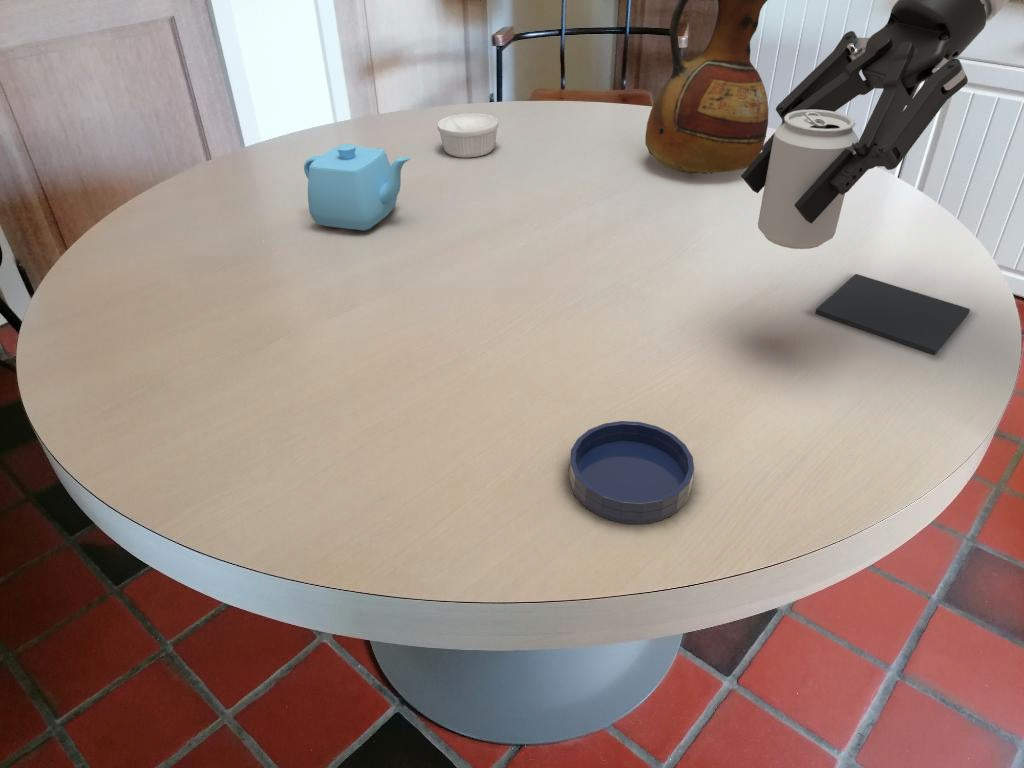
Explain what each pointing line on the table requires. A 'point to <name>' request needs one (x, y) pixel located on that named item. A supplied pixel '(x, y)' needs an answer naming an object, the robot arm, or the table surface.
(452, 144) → the ramekin
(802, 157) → the can
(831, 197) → the robot arm
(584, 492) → the dish
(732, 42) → the ceramic pitcher
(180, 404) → the table surface
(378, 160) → the teapot
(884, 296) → the mat
